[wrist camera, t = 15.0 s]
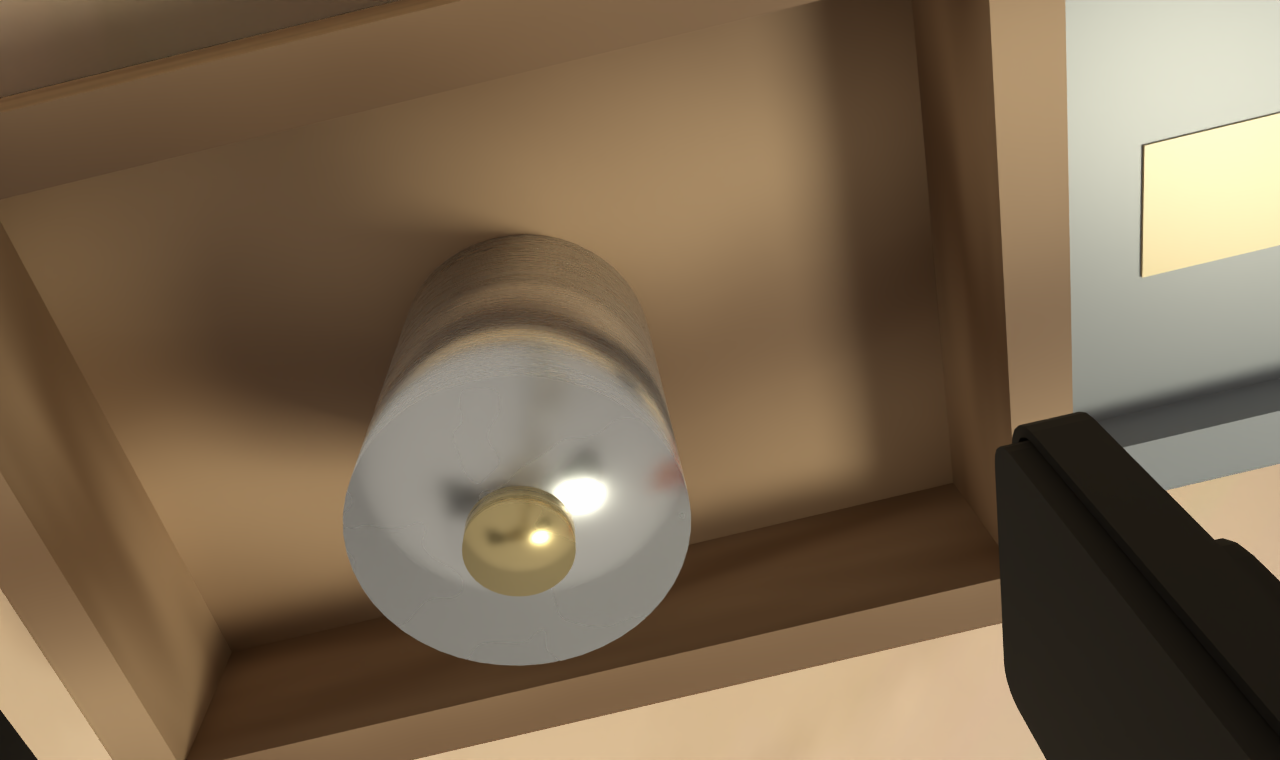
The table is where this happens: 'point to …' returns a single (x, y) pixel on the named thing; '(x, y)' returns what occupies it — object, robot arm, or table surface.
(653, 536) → the cell
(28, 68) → the table surface
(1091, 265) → the tray
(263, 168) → the trough
